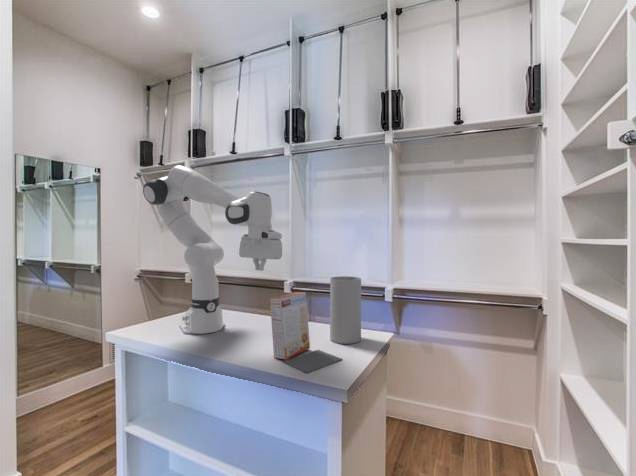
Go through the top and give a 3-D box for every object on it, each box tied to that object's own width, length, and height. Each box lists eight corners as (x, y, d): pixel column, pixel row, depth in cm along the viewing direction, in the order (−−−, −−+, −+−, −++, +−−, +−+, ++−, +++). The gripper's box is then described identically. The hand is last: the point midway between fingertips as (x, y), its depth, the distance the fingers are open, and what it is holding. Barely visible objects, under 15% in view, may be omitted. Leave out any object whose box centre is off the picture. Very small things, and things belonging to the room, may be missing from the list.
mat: (283, 362, 108) (283, 361, 108) (318, 350, 119) (318, 349, 119) (306, 373, 99) (306, 372, 99) (342, 360, 110) (342, 358, 110)
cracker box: (297, 346, 123) (294, 291, 124) (310, 348, 119) (307, 292, 120) (272, 358, 111) (269, 297, 112) (285, 360, 108) (282, 297, 109)
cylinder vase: (349, 347, 123) (349, 281, 123) (323, 340, 131) (324, 278, 131) (366, 339, 132) (367, 278, 132) (342, 333, 140) (342, 275, 140)
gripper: (235, 234, 127) (235, 269, 127) (273, 234, 115) (272, 272, 115) (247, 234, 132) (247, 268, 132) (285, 234, 120) (284, 271, 120)
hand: (259, 270), depth 124 cm, fingers closed
